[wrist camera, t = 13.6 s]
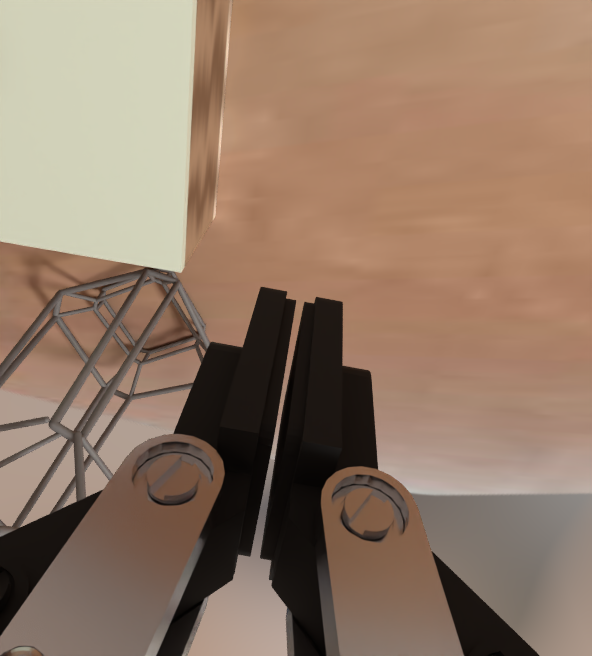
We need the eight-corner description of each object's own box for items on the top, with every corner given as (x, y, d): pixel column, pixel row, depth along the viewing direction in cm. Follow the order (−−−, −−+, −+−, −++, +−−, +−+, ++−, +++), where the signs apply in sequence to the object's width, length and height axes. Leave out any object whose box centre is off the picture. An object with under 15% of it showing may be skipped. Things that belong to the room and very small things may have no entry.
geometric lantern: (253, 355, 52) (126, 809, 23) (125, 384, 56) (-118, 799, 27) (187, 218, 44) (-130, 649, 15) (43, 263, 48) (-418, 669, 19)
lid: (-144, -221, 23) (-162, -229, 22) (203, -148, 24) (199, -153, 23) (-43, 226, 35) (-52, 232, 34) (184, 266, 36) (181, 272, 35)
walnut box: (-9, -159, 32) (-136, -217, 23) (241, -108, 32) (204, -148, 24) (34, 182, 44) (-39, 224, 35) (215, 216, 44) (184, 266, 36)
